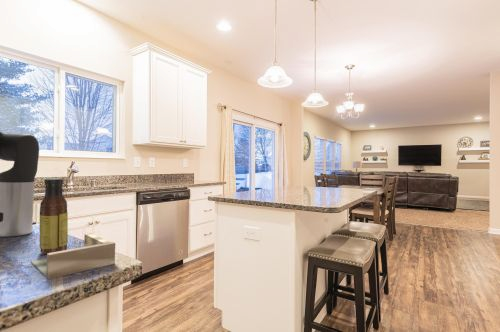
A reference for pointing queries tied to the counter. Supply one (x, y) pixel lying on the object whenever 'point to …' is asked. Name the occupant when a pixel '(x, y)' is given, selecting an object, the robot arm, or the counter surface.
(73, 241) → the counter surface
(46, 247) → the sauce bottle
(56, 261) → the beige l-shaped piece
